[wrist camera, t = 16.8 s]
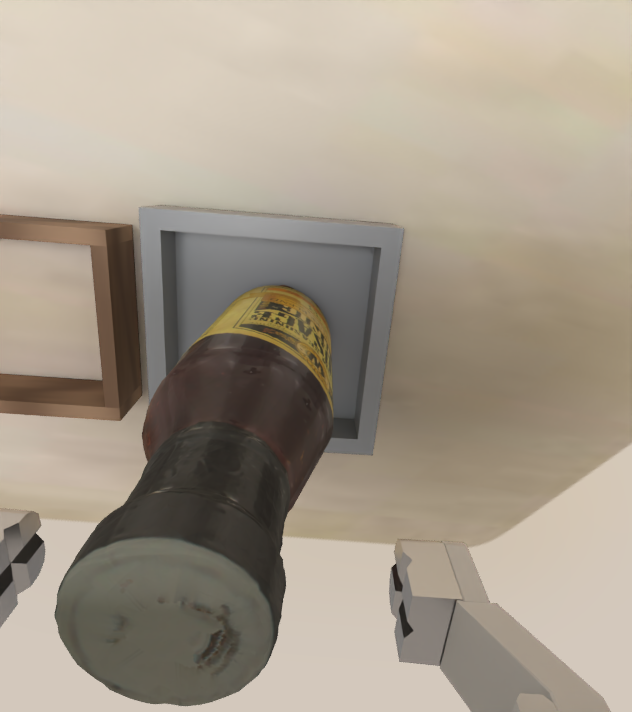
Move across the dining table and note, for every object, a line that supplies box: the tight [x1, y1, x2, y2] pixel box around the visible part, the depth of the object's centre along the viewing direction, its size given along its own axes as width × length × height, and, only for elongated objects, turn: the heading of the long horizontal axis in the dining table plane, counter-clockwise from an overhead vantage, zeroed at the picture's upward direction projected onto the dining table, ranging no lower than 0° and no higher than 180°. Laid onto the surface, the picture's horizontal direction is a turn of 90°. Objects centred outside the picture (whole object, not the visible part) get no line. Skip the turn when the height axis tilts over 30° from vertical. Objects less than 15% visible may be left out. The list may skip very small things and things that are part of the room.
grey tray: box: [139, 205, 404, 455], centre depth 26 cm, size 13×13×4 cm
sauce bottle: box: [55, 285, 334, 706], centre depth 17 cm, size 6×6×20 cm
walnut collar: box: [0, 215, 142, 421], centre depth 26 cm, size 11×11×4 cm
